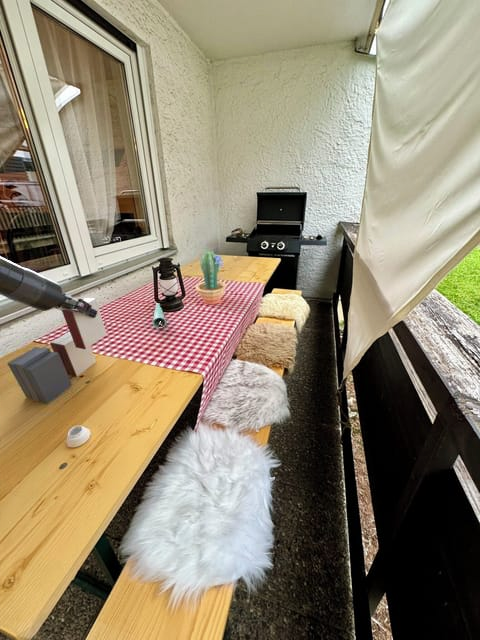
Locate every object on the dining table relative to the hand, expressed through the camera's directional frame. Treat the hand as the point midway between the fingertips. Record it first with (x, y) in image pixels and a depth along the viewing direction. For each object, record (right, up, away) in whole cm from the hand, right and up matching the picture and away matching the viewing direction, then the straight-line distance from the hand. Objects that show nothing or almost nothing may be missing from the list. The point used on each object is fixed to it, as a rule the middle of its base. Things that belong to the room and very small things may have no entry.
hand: (89, 313), depth 74 cm
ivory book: (0, -8, +2) cm, 8 cm away
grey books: (-13, -23, +2) cm, 27 cm away
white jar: (+5, -31, -12) cm, 33 cm away
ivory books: (-10, -18, +12) cm, 23 cm away
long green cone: (+6, 0, +45) cm, 45 cm away
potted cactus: (+29, +8, +58) cm, 66 cm away
